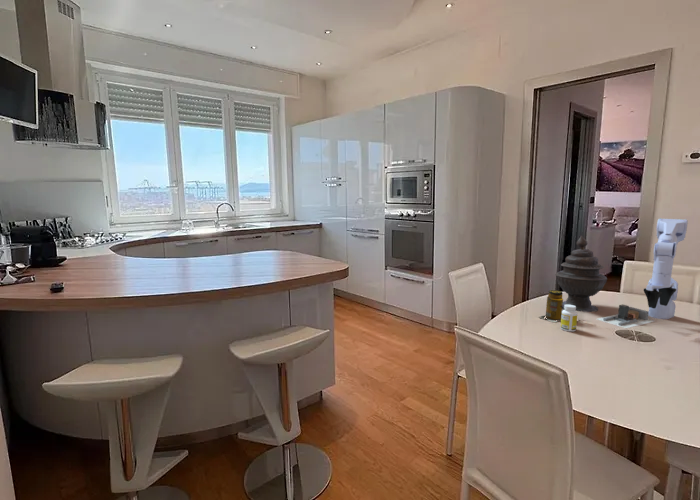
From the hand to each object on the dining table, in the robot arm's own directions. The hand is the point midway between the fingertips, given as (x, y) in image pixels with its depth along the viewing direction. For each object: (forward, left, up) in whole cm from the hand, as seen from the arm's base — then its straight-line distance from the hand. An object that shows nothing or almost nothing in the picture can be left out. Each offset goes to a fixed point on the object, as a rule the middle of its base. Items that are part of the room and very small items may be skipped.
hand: (657, 306), depth 150 cm
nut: (-1, -9, -8) cm, 12 cm away
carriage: (+5, -9, -8) cm, 13 cm away
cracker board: (+4, -9, -9) cm, 14 cm away
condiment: (+26, -26, -10) cm, 38 cm away
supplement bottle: (+32, -14, -10) cm, 36 cm away
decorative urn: (+4, -30, -10) cm, 32 cm away
